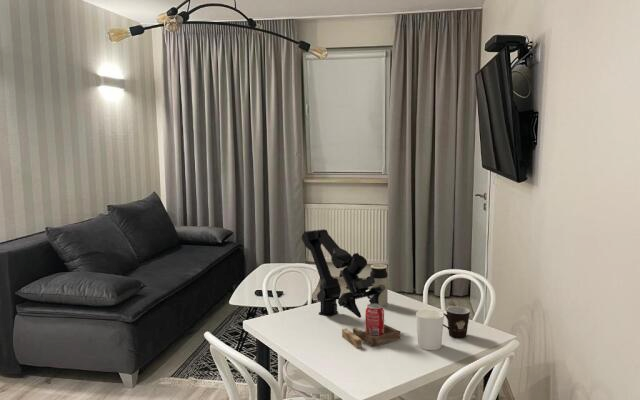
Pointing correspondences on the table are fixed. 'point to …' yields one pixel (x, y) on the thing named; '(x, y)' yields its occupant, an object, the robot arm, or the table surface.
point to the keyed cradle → (388, 336)
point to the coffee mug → (457, 321)
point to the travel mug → (380, 281)
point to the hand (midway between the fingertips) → (369, 315)
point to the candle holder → (429, 329)
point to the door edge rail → (352, 338)
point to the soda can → (374, 320)
